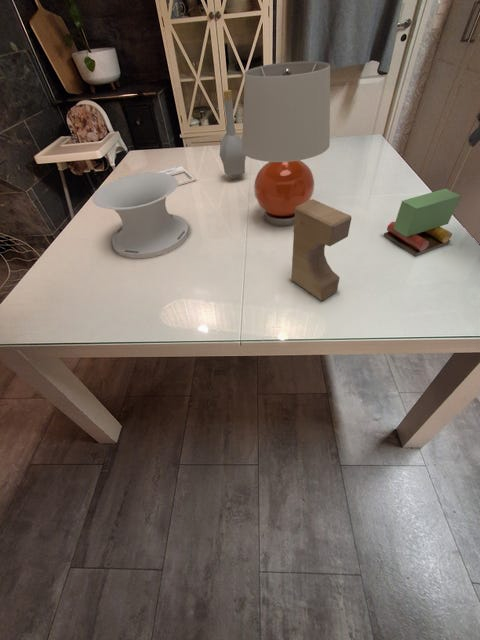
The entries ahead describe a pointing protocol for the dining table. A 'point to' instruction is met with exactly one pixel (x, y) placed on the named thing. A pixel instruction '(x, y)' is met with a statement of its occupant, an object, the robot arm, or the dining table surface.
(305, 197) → the lamp
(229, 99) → the bottle
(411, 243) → the rod rack
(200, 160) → the dining table surface
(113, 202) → the vase
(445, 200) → the bar
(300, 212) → the decorative block
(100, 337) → the dining table surface
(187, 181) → the photo frame
